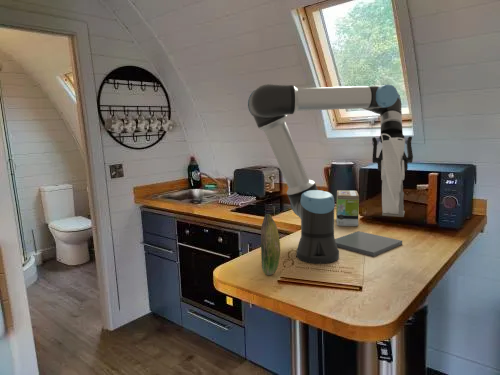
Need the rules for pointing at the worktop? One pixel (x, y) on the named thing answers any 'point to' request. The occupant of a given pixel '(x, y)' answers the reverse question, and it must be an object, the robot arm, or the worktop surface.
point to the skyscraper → (392, 177)
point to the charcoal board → (367, 243)
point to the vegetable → (269, 245)
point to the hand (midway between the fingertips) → (392, 177)
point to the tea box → (347, 208)
